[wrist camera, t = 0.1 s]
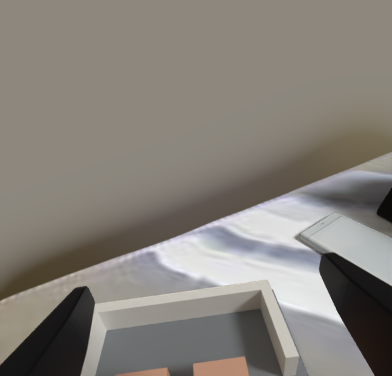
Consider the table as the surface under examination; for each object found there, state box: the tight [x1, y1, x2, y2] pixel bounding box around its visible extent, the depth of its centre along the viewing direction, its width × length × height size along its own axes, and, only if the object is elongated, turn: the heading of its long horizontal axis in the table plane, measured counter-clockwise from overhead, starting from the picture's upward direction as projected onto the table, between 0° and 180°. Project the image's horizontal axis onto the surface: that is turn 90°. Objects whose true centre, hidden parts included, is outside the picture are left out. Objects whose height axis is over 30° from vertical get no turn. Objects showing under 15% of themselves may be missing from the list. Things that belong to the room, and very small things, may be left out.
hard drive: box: [299, 212, 392, 286], centre depth 30 cm, size 2×8×12 cm
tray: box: [81, 280, 299, 376], centre depth 21 cm, size 7×18×3 cm, turn 94°
